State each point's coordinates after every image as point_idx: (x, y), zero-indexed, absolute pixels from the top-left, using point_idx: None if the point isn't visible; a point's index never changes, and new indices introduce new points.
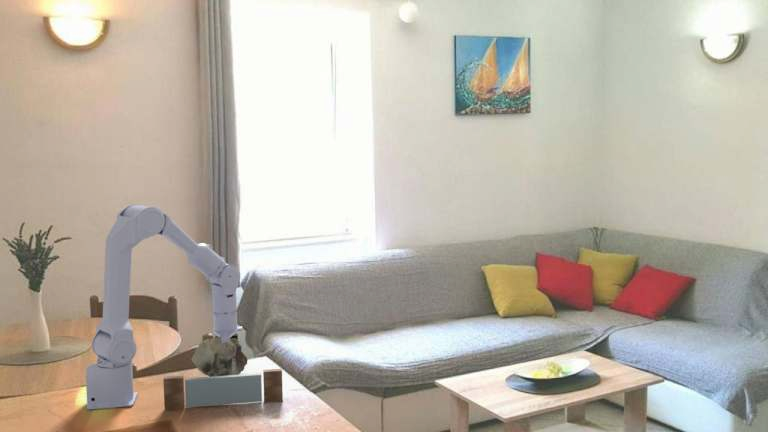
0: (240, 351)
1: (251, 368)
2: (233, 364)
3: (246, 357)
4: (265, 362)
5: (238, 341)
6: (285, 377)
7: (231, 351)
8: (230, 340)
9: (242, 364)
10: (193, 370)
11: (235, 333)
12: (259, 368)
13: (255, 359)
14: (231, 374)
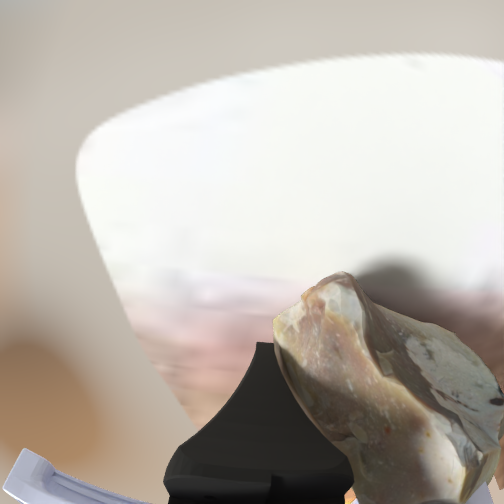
0: (396, 375)
1: (237, 211)
2: (439, 366)
3: (357, 297)
4: (142, 121)
5: (458, 455)
6: (451, 62)
7: (498, 431)
8: (471, 494)
9: (370, 304)
10: (205, 424)
11: (167, 480)
12: (251, 163)
13: (82, 180)
14: (469, 350)
